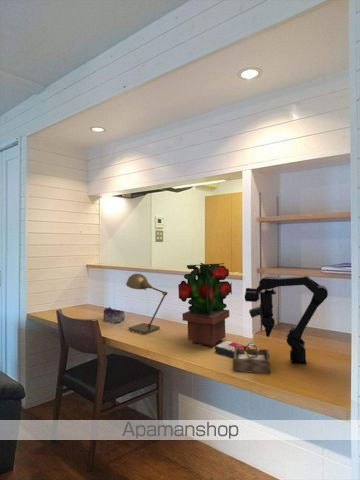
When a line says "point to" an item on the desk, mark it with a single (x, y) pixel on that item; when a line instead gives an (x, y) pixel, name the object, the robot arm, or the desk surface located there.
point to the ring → (250, 345)
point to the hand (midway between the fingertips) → (267, 333)
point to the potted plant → (206, 303)
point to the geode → (113, 315)
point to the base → (251, 360)
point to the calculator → (228, 348)
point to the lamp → (141, 283)
